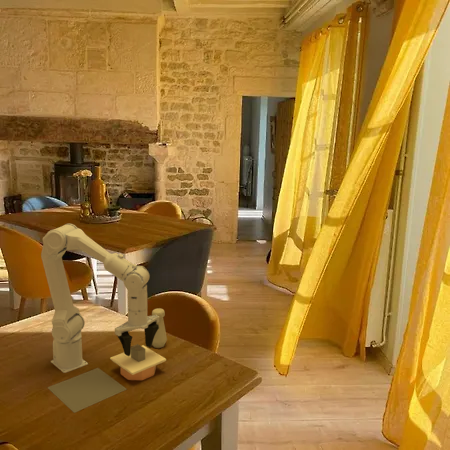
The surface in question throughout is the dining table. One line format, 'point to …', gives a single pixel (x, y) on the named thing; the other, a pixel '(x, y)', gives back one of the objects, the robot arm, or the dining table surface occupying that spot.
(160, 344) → the salt shaker
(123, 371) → the bowl
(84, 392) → the mat
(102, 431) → the dining table surface
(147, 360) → the lid
